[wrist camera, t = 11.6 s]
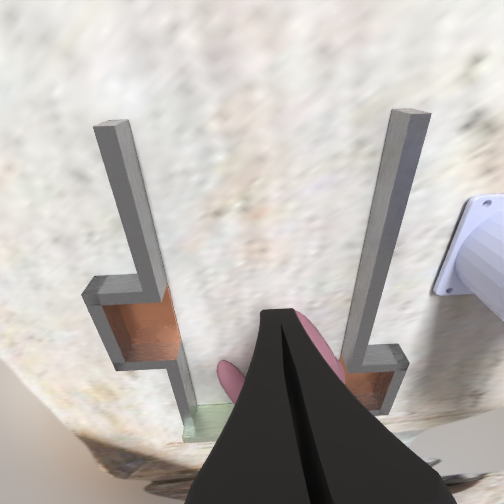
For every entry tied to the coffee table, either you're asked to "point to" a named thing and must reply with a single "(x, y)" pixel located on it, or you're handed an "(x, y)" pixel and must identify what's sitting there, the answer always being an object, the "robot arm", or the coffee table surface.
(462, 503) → the coffee table surface
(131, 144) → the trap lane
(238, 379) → the video game controller
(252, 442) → the robot arm
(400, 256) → the coffee table surface
